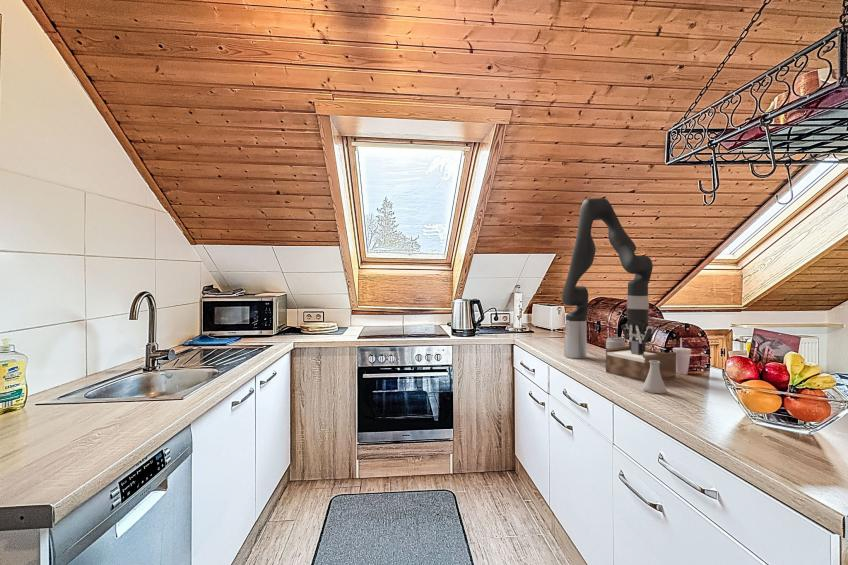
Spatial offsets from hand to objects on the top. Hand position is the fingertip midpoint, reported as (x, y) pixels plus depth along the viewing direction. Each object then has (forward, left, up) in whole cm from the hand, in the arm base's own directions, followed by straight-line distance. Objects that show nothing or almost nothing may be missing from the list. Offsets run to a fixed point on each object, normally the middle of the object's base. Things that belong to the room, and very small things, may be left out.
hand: (637, 352), depth 164 cm
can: (-17, +7, -9) cm, 21 cm away
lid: (0, 0, -2) cm, 2 cm away
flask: (+18, -14, -9) cm, 24 cm away
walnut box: (0, +1, -9) cm, 9 cm away
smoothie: (+5, +18, -9) cm, 21 cm away
